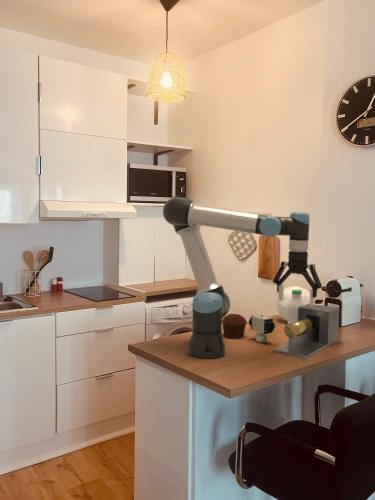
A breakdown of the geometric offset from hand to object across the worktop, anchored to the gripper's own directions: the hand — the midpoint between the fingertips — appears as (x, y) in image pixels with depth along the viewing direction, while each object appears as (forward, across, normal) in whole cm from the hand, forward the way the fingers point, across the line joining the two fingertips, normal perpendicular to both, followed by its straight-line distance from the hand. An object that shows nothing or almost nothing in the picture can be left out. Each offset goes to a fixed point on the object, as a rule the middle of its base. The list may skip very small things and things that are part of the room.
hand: (295, 303), depth 179 cm
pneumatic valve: (+20, +17, -5) cm, 27 cm away
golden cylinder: (+13, -1, -3) cm, 14 cm away
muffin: (+21, +31, -4) cm, 38 cm away
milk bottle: (+20, +14, -32) cm, 40 cm away
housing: (+20, -1, -12) cm, 23 cm away
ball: (+20, +23, -49) cm, 58 cm away
